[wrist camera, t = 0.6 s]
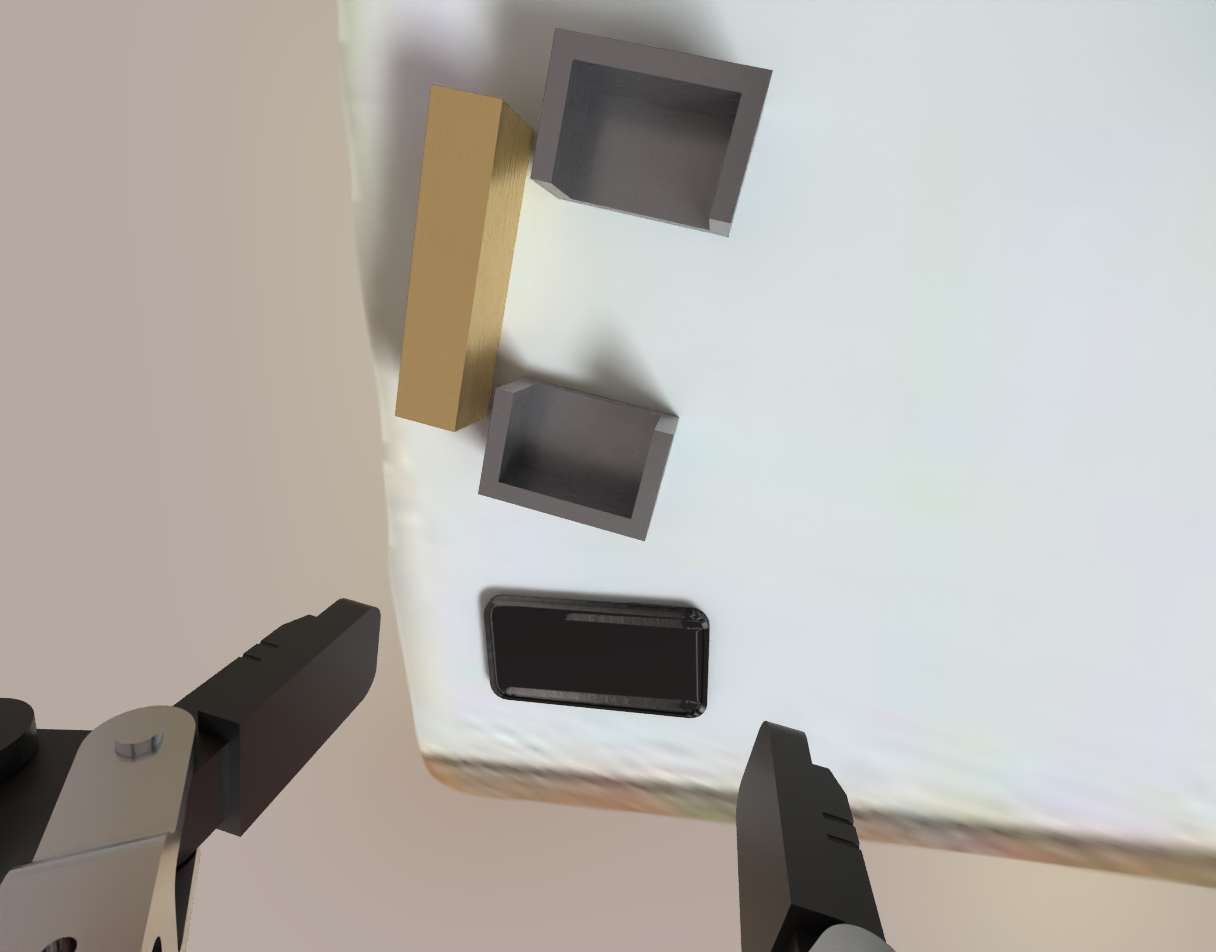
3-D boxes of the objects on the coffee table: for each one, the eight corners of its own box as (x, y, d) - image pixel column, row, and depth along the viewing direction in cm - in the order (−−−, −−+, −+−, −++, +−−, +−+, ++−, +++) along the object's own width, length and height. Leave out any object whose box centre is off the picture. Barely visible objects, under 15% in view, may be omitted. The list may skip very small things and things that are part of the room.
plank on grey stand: (580, 73, 30) (555, 28, 25) (762, 110, 29) (772, 70, 24) (508, 469, 36) (477, 493, 32) (653, 510, 35) (644, 541, 31)
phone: (706, 719, 38) (491, 698, 41) (706, 708, 39) (496, 688, 42) (710, 613, 36) (482, 597, 38) (710, 604, 37) (488, 590, 39)
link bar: (473, 118, 31) (431, 84, 27) (534, 131, 31) (502, 99, 26) (436, 401, 36) (394, 415, 31) (488, 415, 36) (454, 432, 31)
